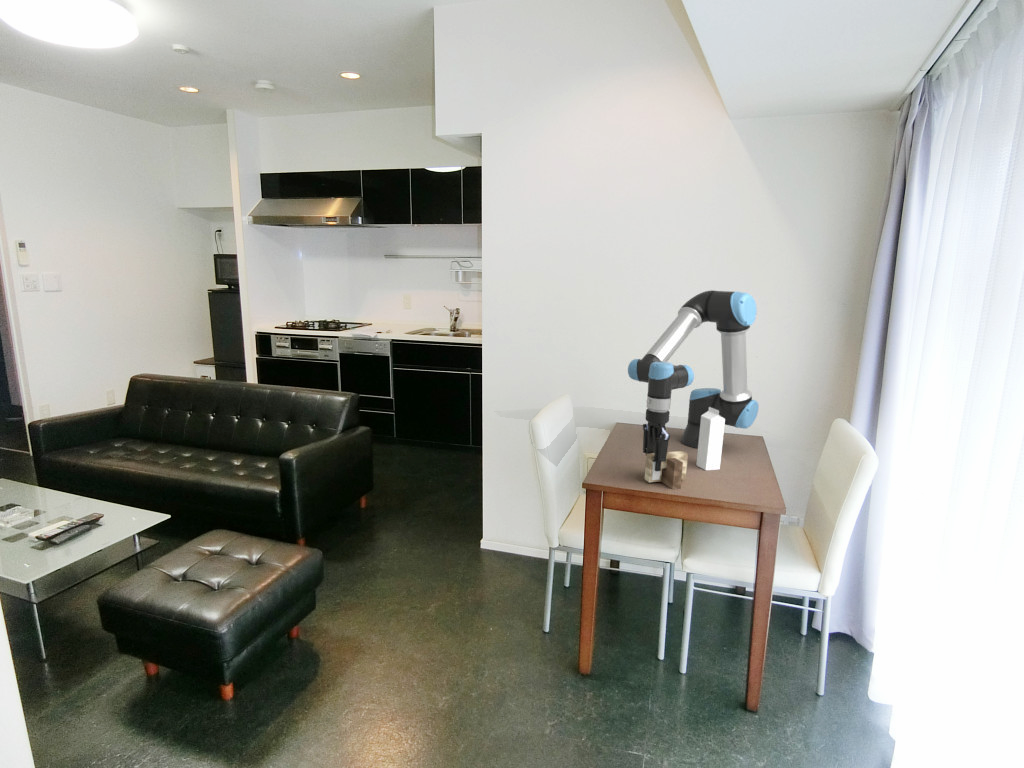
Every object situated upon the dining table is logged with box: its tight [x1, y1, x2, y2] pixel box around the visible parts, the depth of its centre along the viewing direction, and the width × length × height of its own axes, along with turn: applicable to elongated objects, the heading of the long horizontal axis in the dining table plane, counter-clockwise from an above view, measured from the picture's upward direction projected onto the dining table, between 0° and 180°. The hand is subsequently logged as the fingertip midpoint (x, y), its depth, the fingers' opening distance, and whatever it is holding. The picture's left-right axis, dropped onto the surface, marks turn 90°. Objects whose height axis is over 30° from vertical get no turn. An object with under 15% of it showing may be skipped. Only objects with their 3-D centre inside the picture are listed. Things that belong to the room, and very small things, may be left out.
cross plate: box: [644, 450, 689, 483], centre depth 197 cm, size 14×3×9 cm, turn 107°
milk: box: [696, 407, 725, 471], centre depth 212 cm, size 6×6×22 cm
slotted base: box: [660, 458, 683, 490], centre depth 198 cm, size 3×14×9 cm, turn 18°
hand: (652, 477), depth 197 cm, fingers closed on cross plate, 3 cm apart
